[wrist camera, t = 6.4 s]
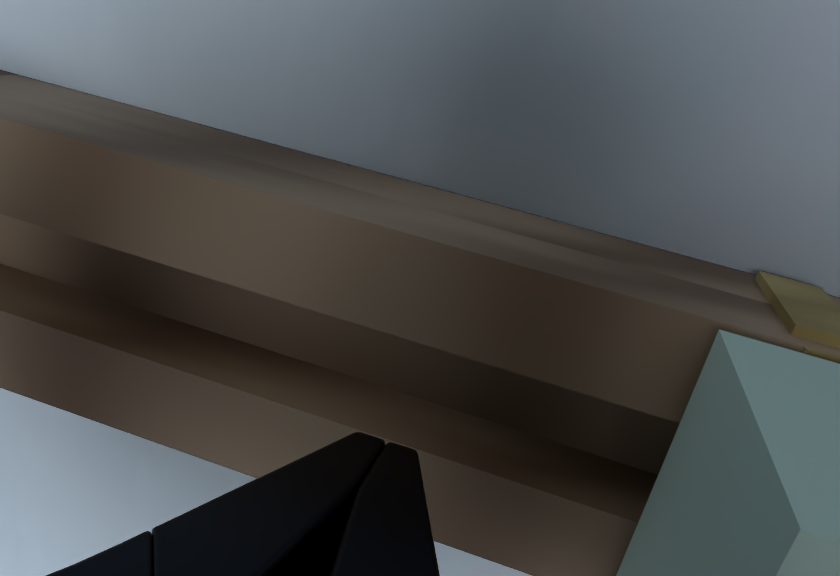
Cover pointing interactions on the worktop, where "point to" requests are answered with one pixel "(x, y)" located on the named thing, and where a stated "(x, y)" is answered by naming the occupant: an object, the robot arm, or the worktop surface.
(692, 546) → the block
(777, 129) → the worktop surface
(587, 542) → the rail
